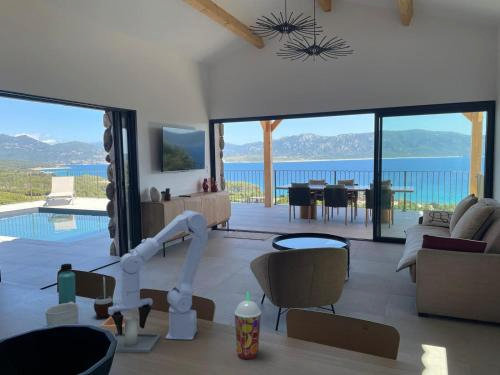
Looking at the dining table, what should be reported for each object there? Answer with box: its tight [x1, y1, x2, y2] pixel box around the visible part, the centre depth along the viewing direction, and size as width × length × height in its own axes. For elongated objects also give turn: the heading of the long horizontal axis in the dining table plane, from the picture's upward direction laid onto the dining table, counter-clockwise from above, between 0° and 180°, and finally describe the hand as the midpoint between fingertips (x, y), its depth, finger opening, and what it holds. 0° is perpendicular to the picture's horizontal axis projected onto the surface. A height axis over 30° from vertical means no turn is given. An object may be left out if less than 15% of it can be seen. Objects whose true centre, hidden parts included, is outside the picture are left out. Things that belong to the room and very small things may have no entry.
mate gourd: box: [93, 276, 114, 320], centre depth 150 cm, size 8×8×15 cm
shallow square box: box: [99, 316, 131, 335], centre depth 139 cm, size 9×9×3 cm
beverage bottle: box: [57, 263, 77, 304], centre depth 155 cm, size 6×7×20 cm
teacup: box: [44, 302, 79, 328], centre depth 141 cm, size 14×11×8 cm
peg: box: [125, 316, 138, 346], centre depth 126 cm, size 4×4×8 cm
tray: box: [114, 332, 161, 354], centre depth 126 cm, size 16×12×2 cm
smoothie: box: [233, 291, 262, 360], centre depth 120 cm, size 8×8×20 cm
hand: (131, 330), depth 126 cm, fingers open, 7 cm apart
